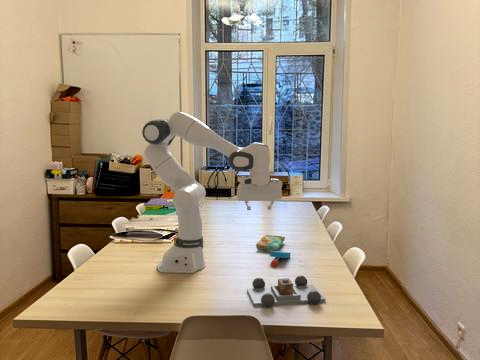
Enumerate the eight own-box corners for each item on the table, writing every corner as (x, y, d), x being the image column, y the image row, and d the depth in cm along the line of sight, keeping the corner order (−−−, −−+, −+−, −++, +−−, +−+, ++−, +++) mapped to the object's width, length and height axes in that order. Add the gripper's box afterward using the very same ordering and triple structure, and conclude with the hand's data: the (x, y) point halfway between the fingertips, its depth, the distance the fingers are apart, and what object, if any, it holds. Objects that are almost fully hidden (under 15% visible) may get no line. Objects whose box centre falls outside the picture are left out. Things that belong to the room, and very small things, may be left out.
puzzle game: (256, 242, 224) (264, 233, 243) (255, 251, 225) (264, 241, 244) (277, 245, 221) (284, 235, 240) (277, 253, 221) (284, 243, 240)
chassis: (254, 308, 156) (255, 295, 155) (246, 289, 173) (246, 278, 172) (327, 303, 161) (327, 291, 160) (311, 286, 178) (312, 274, 177)
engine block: (281, 296, 163) (282, 282, 163) (277, 290, 169) (278, 276, 169) (292, 296, 164) (293, 282, 163) (288, 290, 170) (288, 276, 169)
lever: (276, 264, 218) (266, 266, 201) (277, 251, 218) (267, 251, 202) (289, 266, 215) (280, 268, 198) (290, 252, 216) (281, 253, 199)
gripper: (280, 177, 192) (279, 207, 194) (236, 178, 189) (235, 208, 191) (284, 179, 186) (283, 210, 188) (238, 180, 182) (238, 211, 184)
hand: (259, 209), depth 189 cm, fingers open, 8 cm apart
